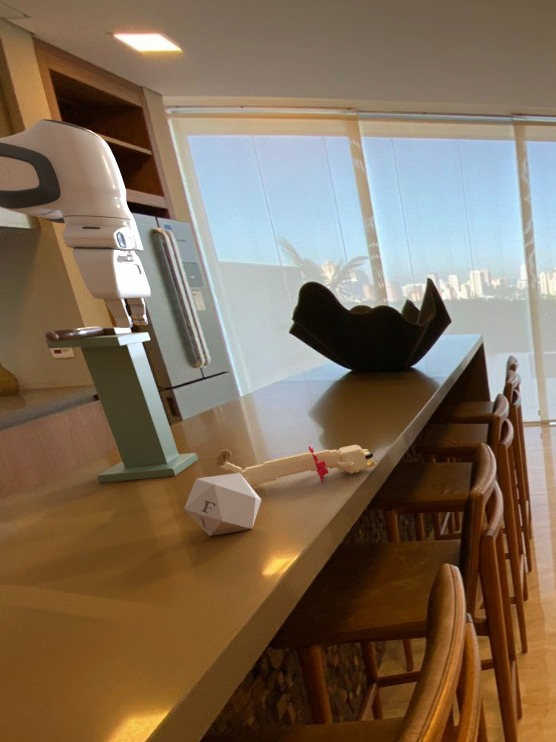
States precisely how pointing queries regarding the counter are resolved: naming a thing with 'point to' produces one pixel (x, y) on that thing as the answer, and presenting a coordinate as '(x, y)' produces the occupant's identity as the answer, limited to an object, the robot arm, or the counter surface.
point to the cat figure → (301, 464)
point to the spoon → (84, 333)
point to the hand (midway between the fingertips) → (134, 326)
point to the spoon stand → (130, 407)
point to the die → (223, 504)
